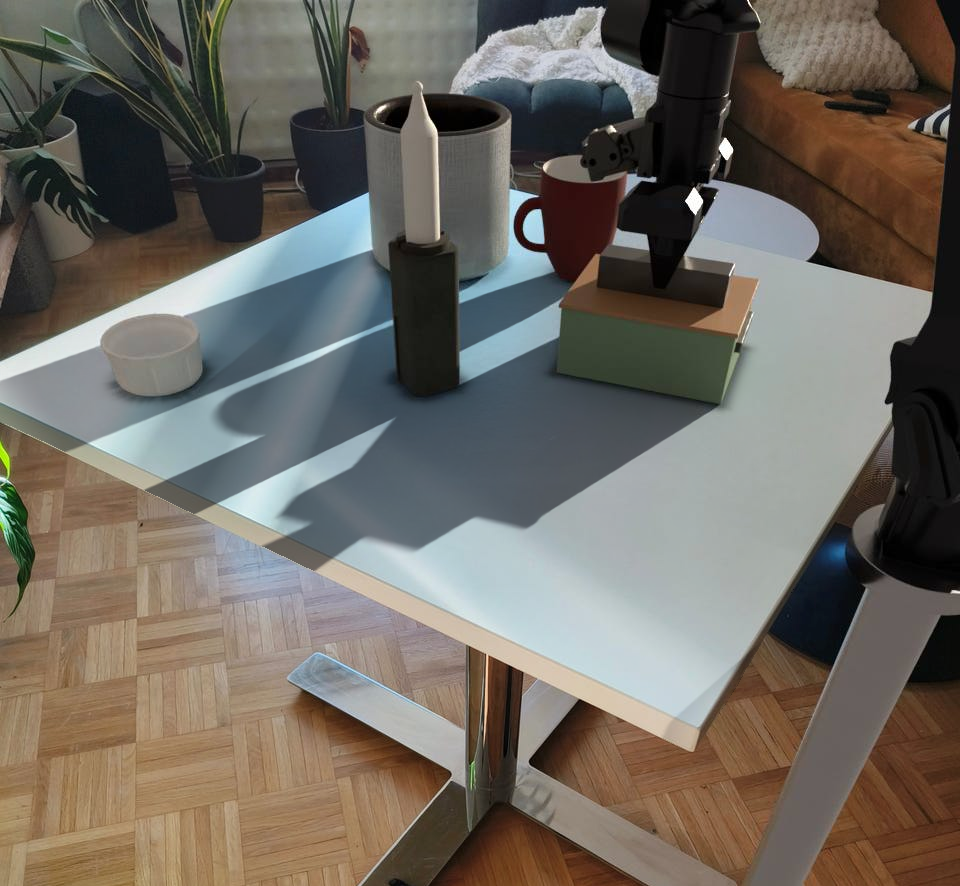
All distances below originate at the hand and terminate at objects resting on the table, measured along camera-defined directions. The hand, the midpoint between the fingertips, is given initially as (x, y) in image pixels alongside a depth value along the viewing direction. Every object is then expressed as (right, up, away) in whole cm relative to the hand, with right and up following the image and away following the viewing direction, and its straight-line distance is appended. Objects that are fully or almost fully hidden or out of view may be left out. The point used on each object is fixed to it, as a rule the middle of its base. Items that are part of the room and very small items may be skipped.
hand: (663, 280), depth 83 cm
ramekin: (-48, -8, +3) cm, 49 cm away
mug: (-7, +8, +20) cm, 23 cm away
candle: (-22, -9, +3) cm, 24 cm away
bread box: (0, -6, +6) cm, 8 cm away
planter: (-22, +12, +23) cm, 34 cm away
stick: (0, -1, +1) cm, 1 cm away
